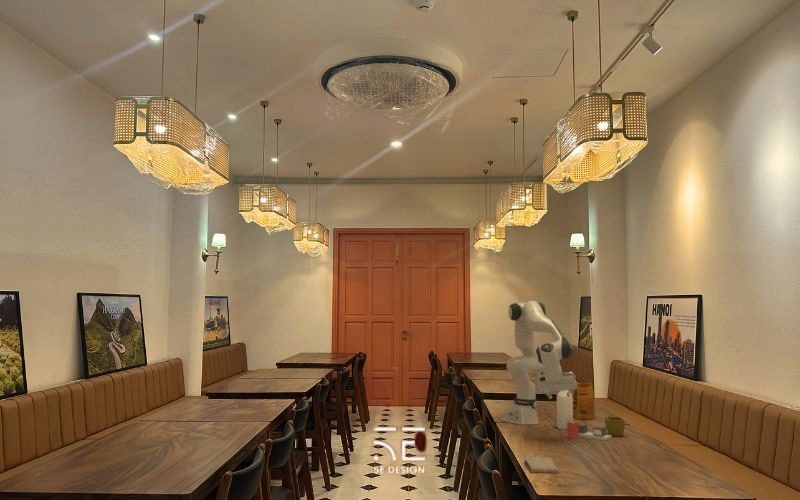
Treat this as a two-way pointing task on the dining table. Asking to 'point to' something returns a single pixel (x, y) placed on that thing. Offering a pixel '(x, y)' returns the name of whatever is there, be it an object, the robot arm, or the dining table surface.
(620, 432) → the flower pot
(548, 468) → the washcloth
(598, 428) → the grey cubes on base
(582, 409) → the coffee package
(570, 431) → the tall red square pillar
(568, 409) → the alcohol
